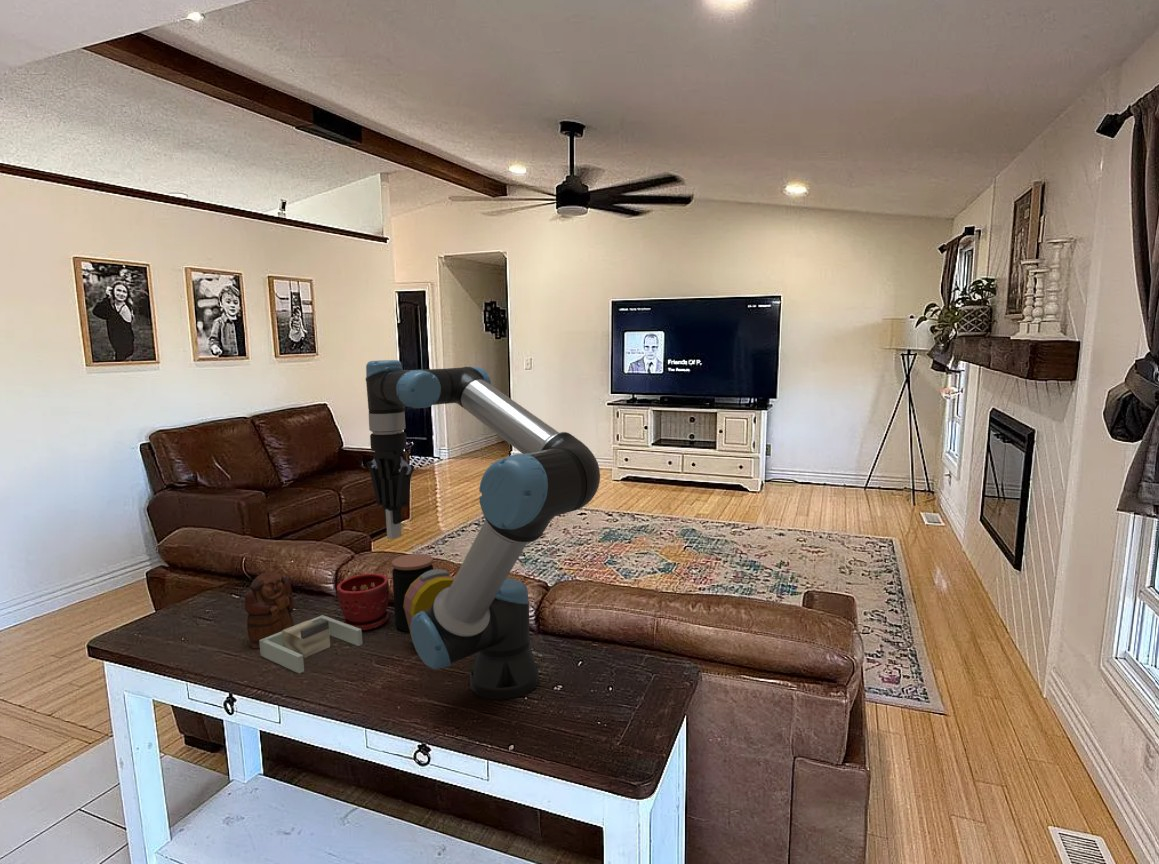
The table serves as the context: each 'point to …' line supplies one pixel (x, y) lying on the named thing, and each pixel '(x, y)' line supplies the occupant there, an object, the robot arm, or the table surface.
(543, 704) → the table surface
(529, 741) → the table surface
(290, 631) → the beige block
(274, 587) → the wooden figurine
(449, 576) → the alarm clock
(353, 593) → the plant pot
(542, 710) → the table surface
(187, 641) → the table surface
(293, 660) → the dock
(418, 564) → the coffee jar
